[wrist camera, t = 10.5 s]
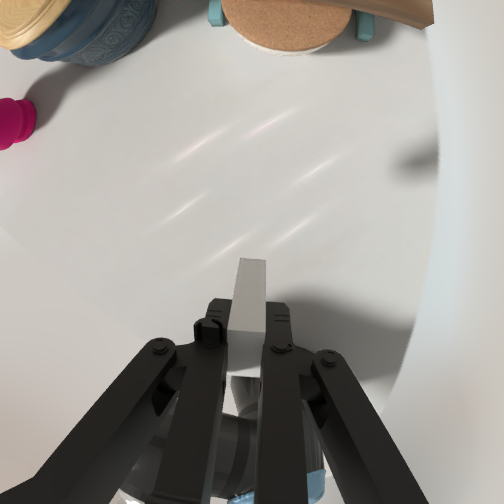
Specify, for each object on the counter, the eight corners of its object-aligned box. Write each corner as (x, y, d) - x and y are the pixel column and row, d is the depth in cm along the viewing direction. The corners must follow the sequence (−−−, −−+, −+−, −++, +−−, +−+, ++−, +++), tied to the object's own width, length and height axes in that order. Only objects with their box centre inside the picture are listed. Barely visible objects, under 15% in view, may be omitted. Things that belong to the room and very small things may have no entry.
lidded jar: (276, -29, 19) (277, -73, 11) (353, 25, 22) (383, -5, 13) (211, 29, 23) (188, -2, 15) (290, 86, 26) (299, 71, 17)
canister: (173, 32, 23) (85, -29, 8) (81, 87, 26) (-32, 91, 10) (144, -37, 18) (70, -101, 2) (61, 16, 21) (-34, -3, 5)
